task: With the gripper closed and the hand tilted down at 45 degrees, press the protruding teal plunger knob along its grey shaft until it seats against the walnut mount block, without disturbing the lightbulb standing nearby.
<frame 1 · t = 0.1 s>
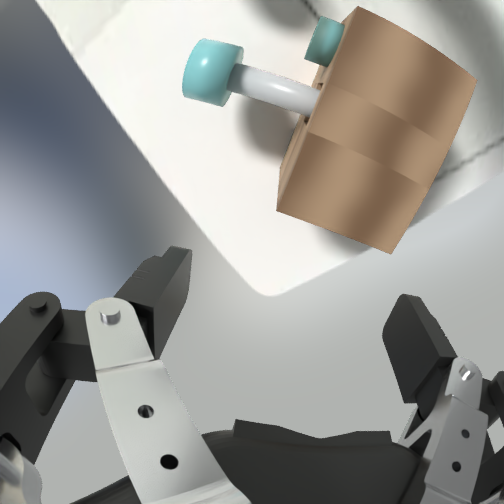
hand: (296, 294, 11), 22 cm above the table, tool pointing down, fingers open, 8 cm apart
knob: (288, 94, 20), point 7 cm above the table, slide at 0.0 cm
mount: (287, 91, 26), on the table
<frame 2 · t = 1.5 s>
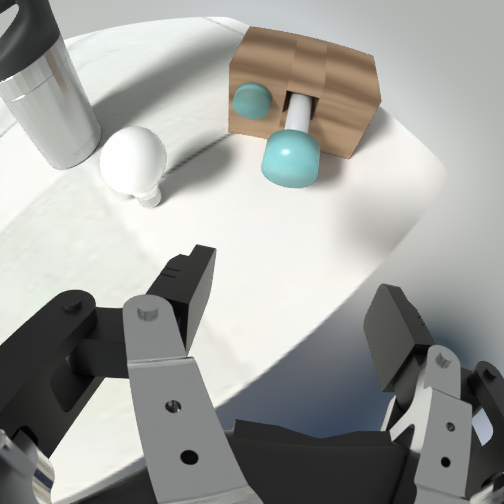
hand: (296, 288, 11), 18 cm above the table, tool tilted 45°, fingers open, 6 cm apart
knob: (298, 117, 28), point 7 cm above the table, slide at 0.0 cm
lightbulb: (151, 200, 32), on the table
mount: (287, 155, 35), on the table
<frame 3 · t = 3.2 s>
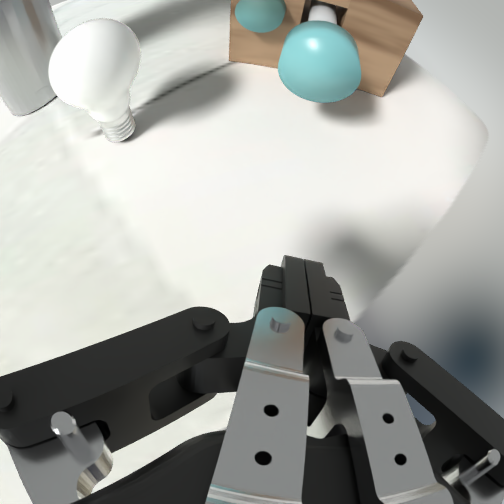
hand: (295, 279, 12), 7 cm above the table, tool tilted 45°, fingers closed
knob: (322, 27, 18), point 7 cm above the table, slide at 0.0 cm
lightbulb: (122, 136, 21), on the table
mount: (306, 85, 24), on the table
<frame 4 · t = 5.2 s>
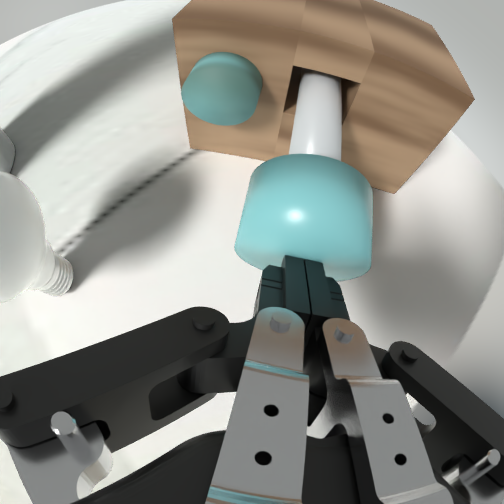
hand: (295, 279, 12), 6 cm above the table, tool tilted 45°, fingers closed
knob: (318, 120, 14), point 7 cm above the table, slide at 0.1 cm, touching gripper
lightbulb: (63, 280, 17), on the table
mount: (293, 190, 20), on the table
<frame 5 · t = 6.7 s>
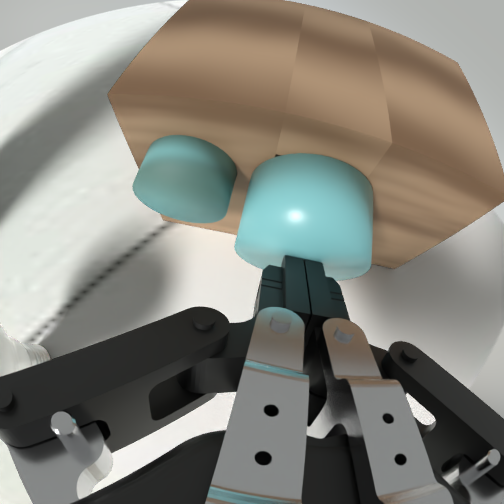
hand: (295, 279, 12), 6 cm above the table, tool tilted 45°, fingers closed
knob: (318, 119, 13), point 7 cm above the table, slide at 6.3 cm, touching gripper
lightbulb: (44, 363, 15), on the table
mount: (279, 274, 18), on the table
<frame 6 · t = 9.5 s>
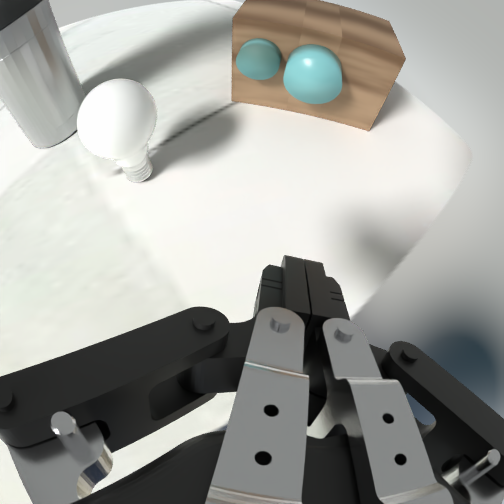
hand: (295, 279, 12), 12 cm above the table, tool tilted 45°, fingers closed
knob: (315, 46, 25), point 7 cm above the table, slide at 6.2 cm
lightbulb: (141, 175, 26), on the table
mount: (300, 125, 29), on the table
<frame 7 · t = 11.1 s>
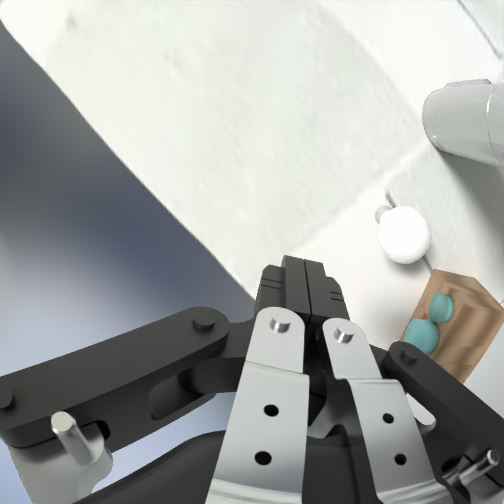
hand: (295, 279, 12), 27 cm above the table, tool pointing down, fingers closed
knob: (449, 339, 36), point 7 cm above the table, slide at 6.2 cm
lightbulb: (382, 213, 37), on the table
mount: (405, 310, 43), on the table
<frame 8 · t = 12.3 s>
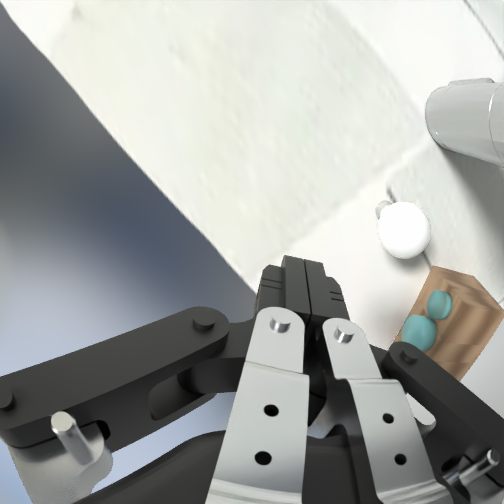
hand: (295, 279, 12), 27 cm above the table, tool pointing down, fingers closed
knob: (447, 336, 37), point 7 cm above the table, slide at 6.2 cm
lightbulb: (382, 208, 37), on the table
mount: (403, 305, 43), on the table
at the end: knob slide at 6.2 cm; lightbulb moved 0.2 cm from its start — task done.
